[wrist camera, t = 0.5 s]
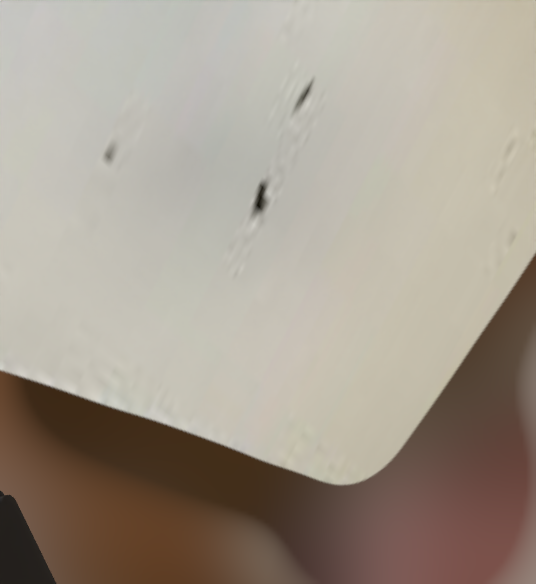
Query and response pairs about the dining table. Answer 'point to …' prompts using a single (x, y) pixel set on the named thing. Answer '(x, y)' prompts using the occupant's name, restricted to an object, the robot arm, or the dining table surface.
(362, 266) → the dining table surface
